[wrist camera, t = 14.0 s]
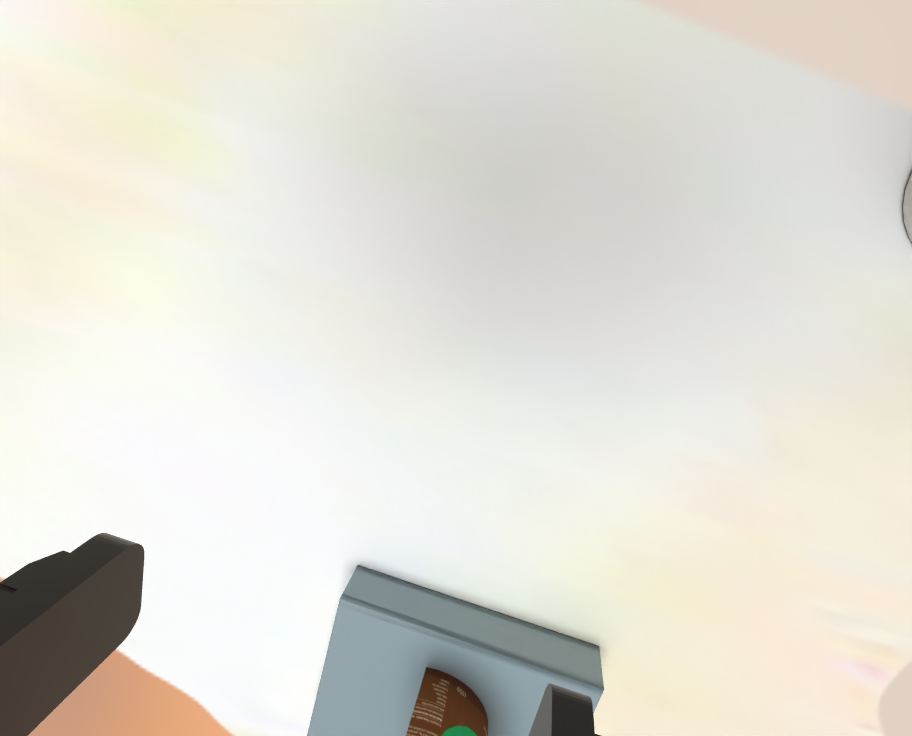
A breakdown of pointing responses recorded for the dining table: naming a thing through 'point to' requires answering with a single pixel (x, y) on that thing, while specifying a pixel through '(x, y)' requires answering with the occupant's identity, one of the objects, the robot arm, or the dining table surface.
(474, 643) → the book
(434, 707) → the food container
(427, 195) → the dining table surface
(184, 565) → the dining table surface
